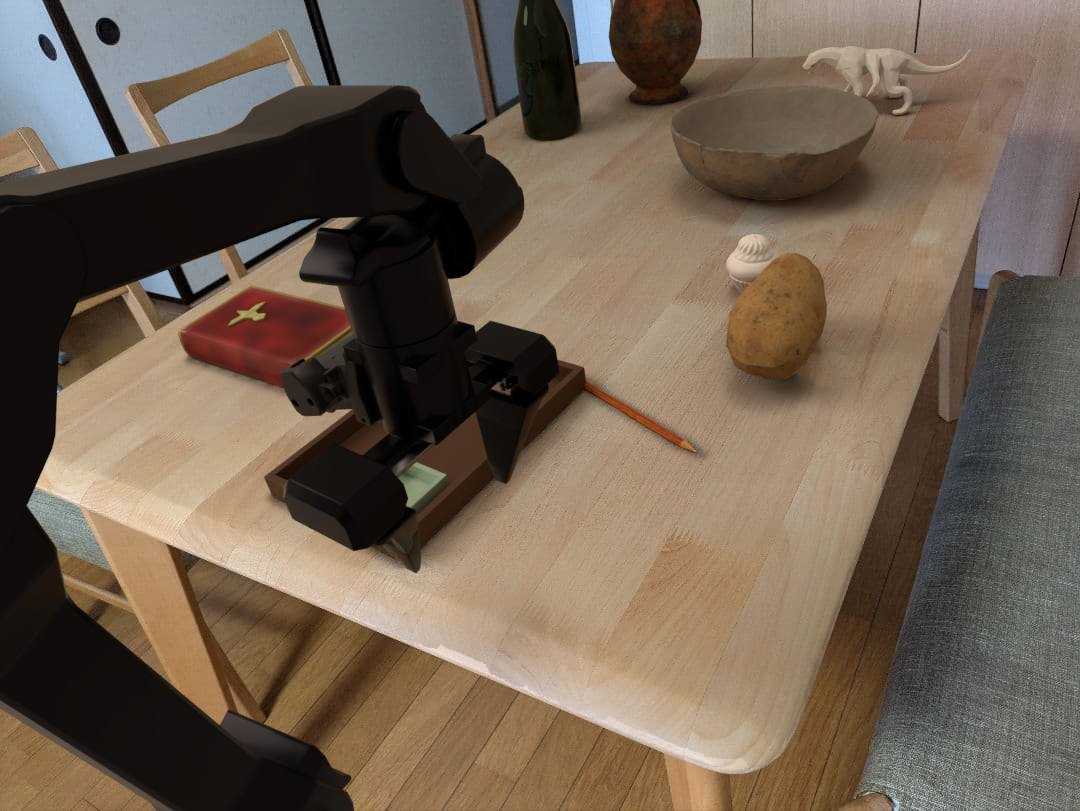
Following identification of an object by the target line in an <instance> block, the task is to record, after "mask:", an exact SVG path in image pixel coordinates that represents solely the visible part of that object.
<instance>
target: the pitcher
mask: <svg viewBox="0 0 1080 811" xmlns="http://www.w3.org/2000/svg"><path fill="white" fill-rule="evenodd" d="M700 7H701V6H700V4H699V1H698V0H614V2H613V6H612V10H611V14H610V18H609V28H608V41H609V46H610V51H611V56H612V58H613V60H614V62H615V63H616V65H617V67H618V69H619V71H620V72H621V73H622V74H623V75H624V76H625V77H626V78H627V79H628V80H629V81H630V82H631V83H633V84H634V85H635V88H634V90H633V91H631V92H630V93H629V95H628V99H629V101H630V102H631V103H633V104H637V105H645V106H657V105H666V104H671V103H676V102H678V101H681V100H683V99H685V98H686V97H688V95H689V89H688V88H687V87H686V86H685V85H682V83H681V81H682V80H683V79H684V77H685V76H686V75H687V73H688V72H689V71H690V69H691V68H692V66H693V64H694V63H695V61H696V58H697V55H698V52H699V50H700V47H701V45H702V34H703V33H702V32H703V20H702V14H701V8H700Z"/></svg>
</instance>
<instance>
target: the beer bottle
mask: <svg viewBox="0 0 1080 811" xmlns="http://www.w3.org/2000/svg"><path fill="white" fill-rule="evenodd" d="M512 49H513V59H514V60H513V61H514V67H515V75H516V83H517V90H518V97H519V105H520V112H521V119H522V126H523V130H524V133H525V135H526V136H527V137H528V138H531V139H535V140H542V141H543V140H555V139H562V138H565V137H568V136H570V135H573V134H574V133H576V132H577V131H578V130H580V128H581V127H582V111H581V104H580V96H579V88H578V81H577V79H578V78H577V72H576V64H575V57H574V50H573V45H572V39H571V32H570V30H569V26H568V23H567V20H566V18H565V15H564V14H563V12H562V10H561V8H560V6H559V3H558V2H557V0H518V1H517V8H516V13H515V18H514V25H513V29H512Z"/></svg>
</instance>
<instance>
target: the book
mask: <svg viewBox="0 0 1080 811" xmlns="http://www.w3.org/2000/svg"><path fill="white" fill-rule="evenodd" d="M177 331H178V332H177V336H178V339H179V342H180V344H181V346H182V349H183V350H184V352H185V354H186V355H187V356H188V357H189V358H191V359H195V360H197V361H200V362H204V363H206V364H209V365H212V366H216V367H217V368H221V369H225V370H228V371H231V372H233V373H237V374H239V375H243V376H246V377H249V378H252V379H256V380H259V381H261V382H264V383H268V384H271V385H274V386H277V387H280V388H282V389H284V386H283V382H282V379H281V376H280V372H281V371H283V370H284V369H286V368H287V367H289V366H290V365H292V364H293V363H295V362H296V361H298V360H299V359H305V360H307V359H309V358H311V357H314V358H318V357H319V356H321V355H322V354H323V353H325V352H326V351H328V350H329V349H331V348H332V347H334V346H335V345H337V344H338V343H339V342H341V341H342V340H344V339H346V338H347V337H349V336H351V335H353V332H352V329H351V326H350V323H349V320H348V317H347V314H346V310H345V307H344V306H340V305H336V304H332V303H328V302H323V301H320V300H315V299H311V298H306V297H302V296H298V295H294V294H289V293H285V292H283V291H282V292H281V291H277V290H273V289H269V288H265V287H261V286H257V285H252V284H251V285H249V286H247V287H246V288H244V289H243V290H241V291H240V292H238V293H237V294H234V295H233V296H232V297H230V298H228V299H226V300H225V301H224V302H222V303H220V304H218V305H217V306H216V307H214V308H212V309H210V310H209V311H207V312H206V313H204V314H203V315H201V316H199V317H198V318H196V319H194V320H193V321H191V322H189V323H188V324H187V325H184V326H183V327H181V328H180V329H178V330H177Z"/></svg>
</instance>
